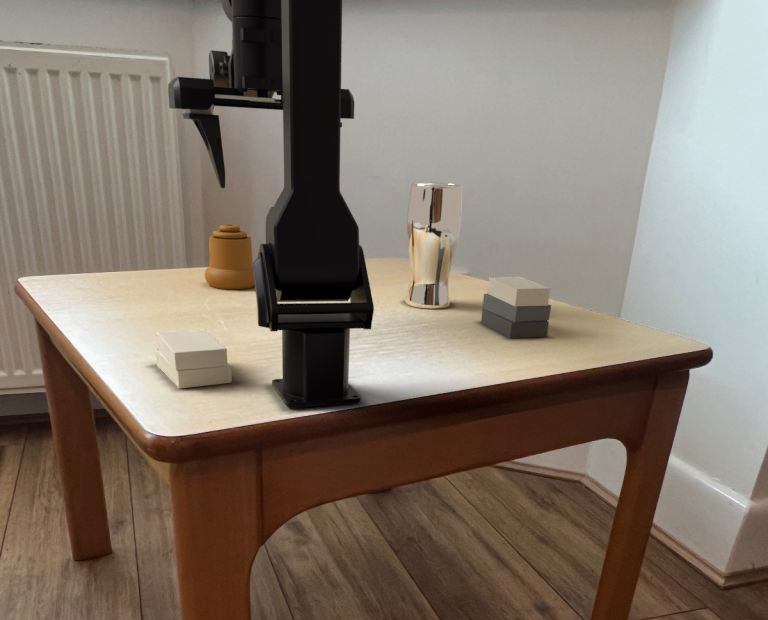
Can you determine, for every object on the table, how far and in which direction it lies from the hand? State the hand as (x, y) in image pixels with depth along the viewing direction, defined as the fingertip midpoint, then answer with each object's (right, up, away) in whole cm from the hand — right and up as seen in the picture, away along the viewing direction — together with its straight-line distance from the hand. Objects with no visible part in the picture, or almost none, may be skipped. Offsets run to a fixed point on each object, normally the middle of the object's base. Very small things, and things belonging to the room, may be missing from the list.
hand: (264, 189), depth 82 cm
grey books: (+29, -13, +9) cm, 33 cm away
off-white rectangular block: (+29, -10, +7) cm, 32 cm away
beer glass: (+19, -7, +19) cm, 28 cm away
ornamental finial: (-9, -3, +24) cm, 26 cm away
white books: (-5, -23, -13) cm, 27 cm away
